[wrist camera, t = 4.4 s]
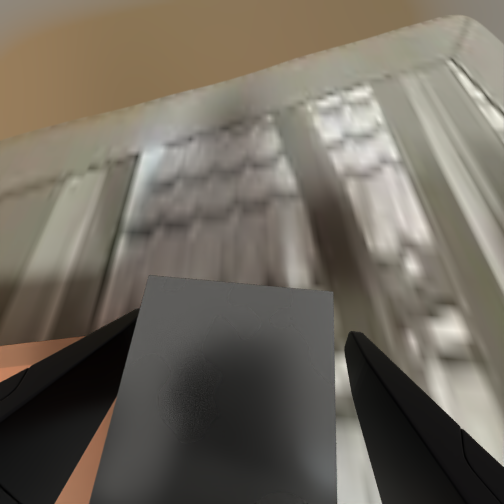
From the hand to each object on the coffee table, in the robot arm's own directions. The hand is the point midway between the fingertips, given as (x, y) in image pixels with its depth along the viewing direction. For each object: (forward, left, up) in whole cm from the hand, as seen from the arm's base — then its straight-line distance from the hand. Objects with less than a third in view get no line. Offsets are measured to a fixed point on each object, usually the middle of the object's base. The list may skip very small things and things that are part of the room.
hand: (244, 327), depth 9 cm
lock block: (-1, -1, -7) cm, 7 cm away
